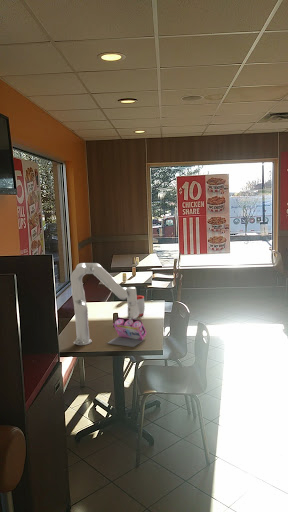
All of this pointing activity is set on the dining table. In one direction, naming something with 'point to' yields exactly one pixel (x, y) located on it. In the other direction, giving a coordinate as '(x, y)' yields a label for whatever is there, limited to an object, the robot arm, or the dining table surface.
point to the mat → (125, 341)
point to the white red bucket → (140, 304)
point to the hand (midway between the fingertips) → (134, 326)
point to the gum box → (130, 328)
